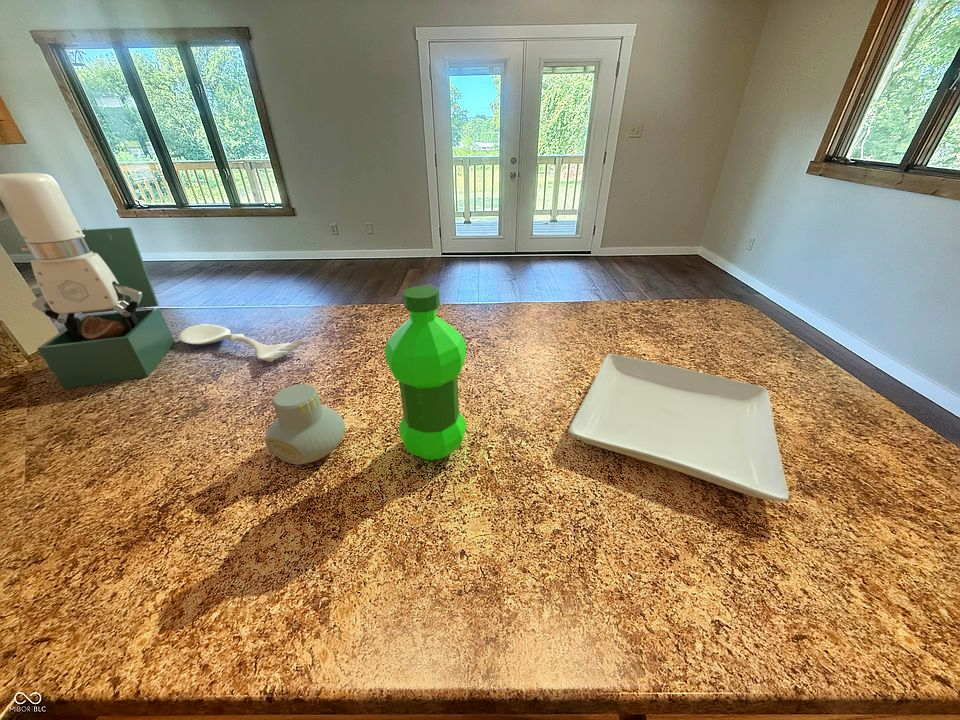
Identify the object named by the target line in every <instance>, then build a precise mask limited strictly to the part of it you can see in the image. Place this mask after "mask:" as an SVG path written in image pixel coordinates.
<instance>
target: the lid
mask: <svg viewBox="0 0 960 720" xmlns="http://www.w3.org/2000/svg"><path fill="white" fill-rule="evenodd" d="M81 230H82V232H83V234H84V236H85V238H86V240H87V242H88V244H89V246H90V248H91V250H92V252H93V253H97V254H98V255H99V256H100V257H101V258H102V259H103V261H104V262H105V263H106V264H107V266H108V267H109V269H110V270H111V272H112V273H113V275H114V276H115V278H116V280H117V281H118V283H119V284H120V285H123V286H126V287H129V288H132V289H135V290H138V291H140V292H142V298H141V301H140V304H139V306H138V307H137V309H141V308H142V309H145V308H153V307H154V308H155V307H158V306H160V304H159V302H158V299H157V296H156V293H155V291H154V287H153V285H152V282H151V279H150V277H149V274H148V272H147V268H146V266H145V263H144V260H143V257H142V255H141V251H140V249H139V247H138V243H137V241H136V238H135V235H134V233H133V230H132V228H131V226H128V227H112V228H111V227H109V228H93V229H81ZM124 301H125V302H127V303H128V304H129V303H130V301H131V298H130V297H129V296H127V295H125V300H124ZM106 312H116V311H115V310H114V309H108V310H100V311H90V312H81V314H82V315H88V314H96V313H106Z"/></svg>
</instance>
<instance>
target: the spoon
mask: <svg viewBox="0 0 960 720" xmlns="http://www.w3.org/2000/svg"><path fill="white" fill-rule="evenodd" d="M231 332H232V331H231V330H230V329H229V328H227V327H225V326H222V325H217V324H209V323H207V324H206V323H202V324H195V325H192V326H188V327H187V328H185V329H183V330H182V331H180V333H179V335H178V338H179V340H180V341H182V343H186V344H189V345H196V346H197V345H201V346H202V345H209V344H214V343H217V342H221V341H224V340H229V341H230V342H243V343H246V344H248V345H250V346H251V348H253V349H254V350H255V352H256V358H257V359H259V360H263V361H266V362H269V363H272V362H275V361H276V360H278V359H280V358H282V357H283V356H285V355H288V354H289V352H294V351H295V349H297V348H300V347H299V346H301V345H305V341H304V340H302V339H300V340H295V341H292V342H286V343H279V344H273V345H270V344H269V345H268V344H263V343H261V342H258V341H256V340H255V339H252V338H250V337H248V336H245V334H243V333H231Z"/></svg>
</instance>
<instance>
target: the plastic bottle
mask: <svg viewBox="0 0 960 720" xmlns="http://www.w3.org/2000/svg"><path fill="white" fill-rule="evenodd" d="M402 297H403V306H404V308H405V310H406V311H407V312H409V318H408V319H406V320H405V322H403V323H402V324H401V325H400V326H399V327H398V328H397V329H396V330H395V331H394V332H393V333H392V335H391V336H390V337H389V338H388V340H386V344H385V346H384V347H385V348H384V357H385V361H386V363H387V366H388V368H389V370H390V372H391V373H392V375H393V377H394V379H395V380H396V381H398V384H399V391H400V398H401V407H402V414H403V418H402V419H401V421H400V423H399V427H398V433H399V437H400V439H401V441H402V443H403V445H404V447H405V449H406V450H407V452H408V453H409V454H411V455H414V456H416V457H419V458H422V459H423V460H427V461H435V460H442V459H444V458H446V457H448V456H449V455H450V454H452V453H453V452H455V451H457V450H458V449H459V448H460V447H461V445H462V442H463V439H464V436H465V433H466V430H467V422H466V420H465V418H464V416H463V415H462V413H461V412H460V405H459V404H460V402H459V379H458V378H459V375H461V371H462V370H463V366H464V364H465V363H466V356H467V344H466V341H465V339H464V337H463V335H462V334H461V333H460V332H459V331H458V330H457V329H456V328H454V327H453V326H452V325H451V324H450V323H448V322H446V320H444V319H442V318H440V317H439V316H437V309H438V308H440V305H441V302H440V290H439V289H437V288H436V287H434V286H427V285H420V286H413V287H409V288H406V289H405V290H404V291H403V292H402Z"/></svg>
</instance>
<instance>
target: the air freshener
mask: <svg viewBox="0 0 960 720" xmlns="http://www.w3.org/2000/svg"><path fill="white" fill-rule="evenodd" d="M271 402H272V406H273V408H274V409H273V410H274V412H275V414H276V417H277V418H276V419H275V420H274V421H273V422H272V423H271V425H270V426H269V428H268V429H267V431H266V434H265V439H264V440H265V445H266V447H267V449H268V450H269V451H270V452H271V453H272V454H273V455H274V456H276V457H277V458H279V459H280V460H281V461H284V462H287V463H289V464H293V465H305V464H309V463H313V462H317V461H318V460H321V459H323V458H325V457H326V456H328V455H329V454H331V453H332V452H333V451H334V450H335V449H336V448H337V447H338V446H339V445H340V443H341V442H342V440H343V438H344V437H345V436H344V435H345V431H346V423H345V419H344V418H343V417H342V416H341V414H339V413H338V412H337V411H336V410H334V409H332V408H330V407H329V406H326V405H323V404H322V403H321V399H320V395H319V392H318V389H317V388H316V387H315V386H313V385H310V384H307V383H299V384H292V385H289V386H286V387H285V388H283V389H281V390H280V391H278V392H277V393H276V394H275V395H274V397H273V398H272V401H271Z"/></svg>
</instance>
